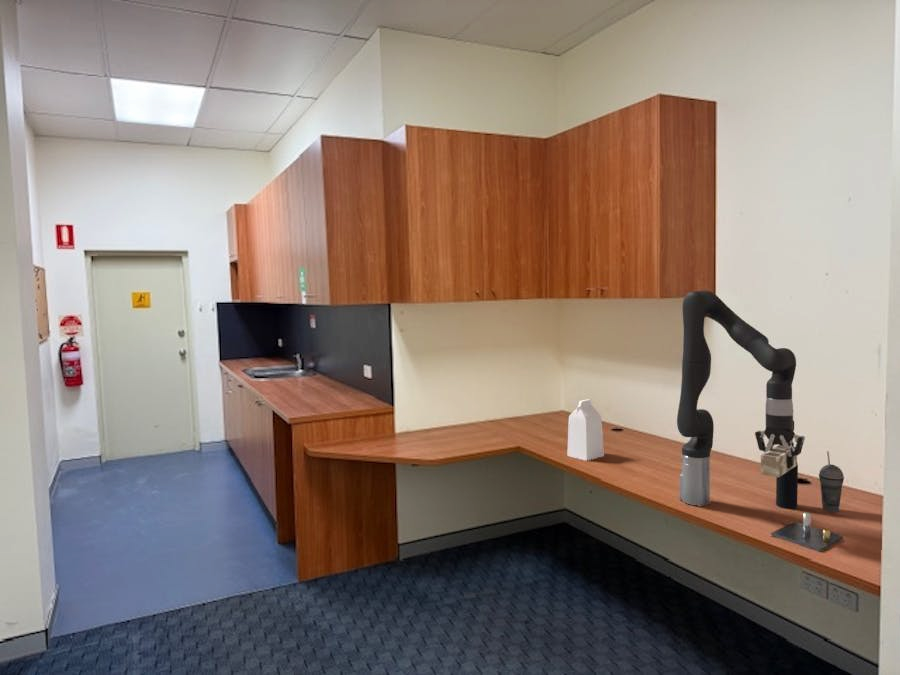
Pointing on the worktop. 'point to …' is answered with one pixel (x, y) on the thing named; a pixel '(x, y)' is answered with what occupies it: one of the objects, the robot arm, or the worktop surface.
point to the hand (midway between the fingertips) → (779, 465)
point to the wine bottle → (787, 487)
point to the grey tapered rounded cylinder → (831, 486)
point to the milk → (585, 432)
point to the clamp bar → (776, 462)
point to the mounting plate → (807, 535)
